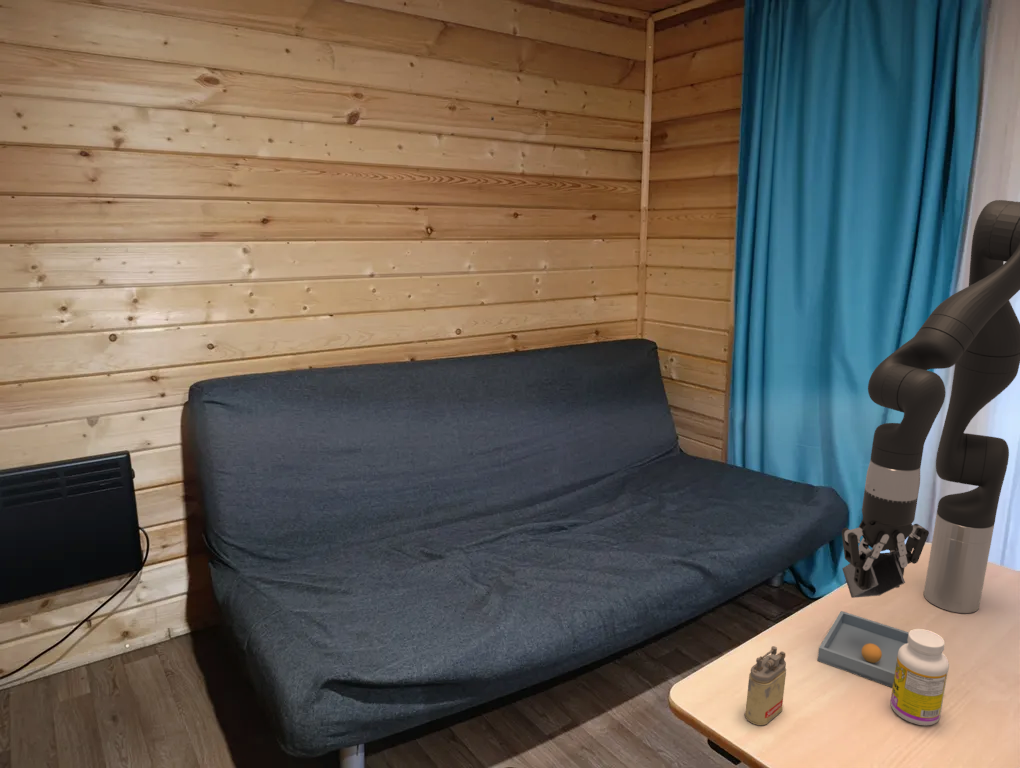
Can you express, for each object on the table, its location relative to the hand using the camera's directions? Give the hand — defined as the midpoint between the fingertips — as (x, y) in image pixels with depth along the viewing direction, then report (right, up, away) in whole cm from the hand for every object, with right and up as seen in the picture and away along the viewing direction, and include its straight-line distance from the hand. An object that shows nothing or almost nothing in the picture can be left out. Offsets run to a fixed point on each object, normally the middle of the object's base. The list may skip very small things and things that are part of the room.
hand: (877, 585), depth 121 cm
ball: (0, -11, +1) cm, 11 cm away
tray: (0, -13, +4) cm, 13 cm away
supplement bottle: (+1, -17, -10) cm, 19 cm away
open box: (-1, -1, +5) cm, 5 cm away
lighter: (-22, -17, -10) cm, 29 cm away
